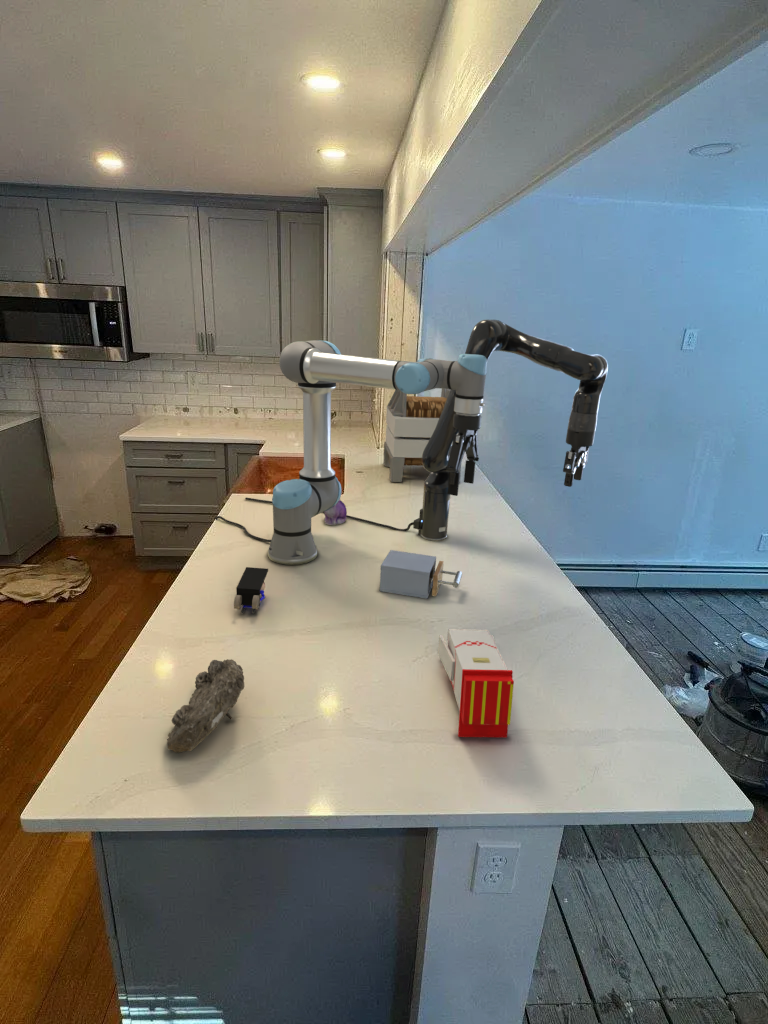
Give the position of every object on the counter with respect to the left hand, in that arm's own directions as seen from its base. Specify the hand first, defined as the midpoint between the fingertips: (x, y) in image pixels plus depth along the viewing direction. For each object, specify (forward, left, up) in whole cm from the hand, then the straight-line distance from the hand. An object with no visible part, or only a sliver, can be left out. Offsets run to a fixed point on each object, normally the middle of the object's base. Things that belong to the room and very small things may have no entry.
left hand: (460, 488), depth 160 cm
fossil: (-18, -82, -28) cm, 88 cm away
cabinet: (-9, -13, -28) cm, 32 cm away
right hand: (+27, +20, +1) cm, 34 cm away
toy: (+23, -50, -28) cm, 61 cm away
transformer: (-54, +98, -28) cm, 115 cm away
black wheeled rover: (-40, -44, -28) cm, 65 cm away
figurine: (-53, +20, -28) cm, 63 cm away
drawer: (-3, -12, -27) cm, 29 cm away
